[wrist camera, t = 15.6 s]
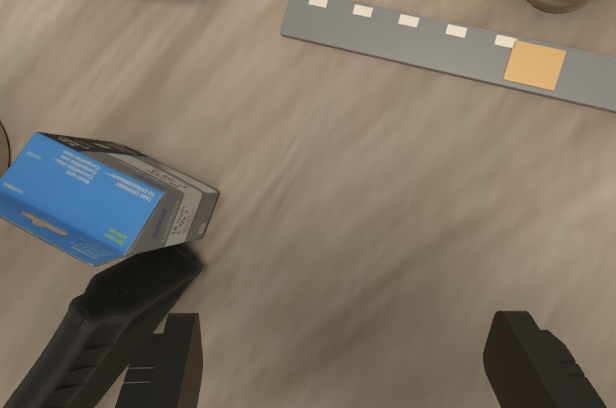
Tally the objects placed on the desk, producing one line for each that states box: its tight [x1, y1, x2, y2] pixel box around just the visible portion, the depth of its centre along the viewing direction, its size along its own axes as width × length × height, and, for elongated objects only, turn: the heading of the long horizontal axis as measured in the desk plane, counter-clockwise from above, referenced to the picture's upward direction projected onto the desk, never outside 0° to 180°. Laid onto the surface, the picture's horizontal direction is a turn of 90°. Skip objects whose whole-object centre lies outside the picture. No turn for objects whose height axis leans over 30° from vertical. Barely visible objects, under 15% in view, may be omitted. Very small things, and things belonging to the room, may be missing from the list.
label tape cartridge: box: [0, 132, 219, 267], centre depth 30 cm, size 9×4×12 cm, turn 66°
